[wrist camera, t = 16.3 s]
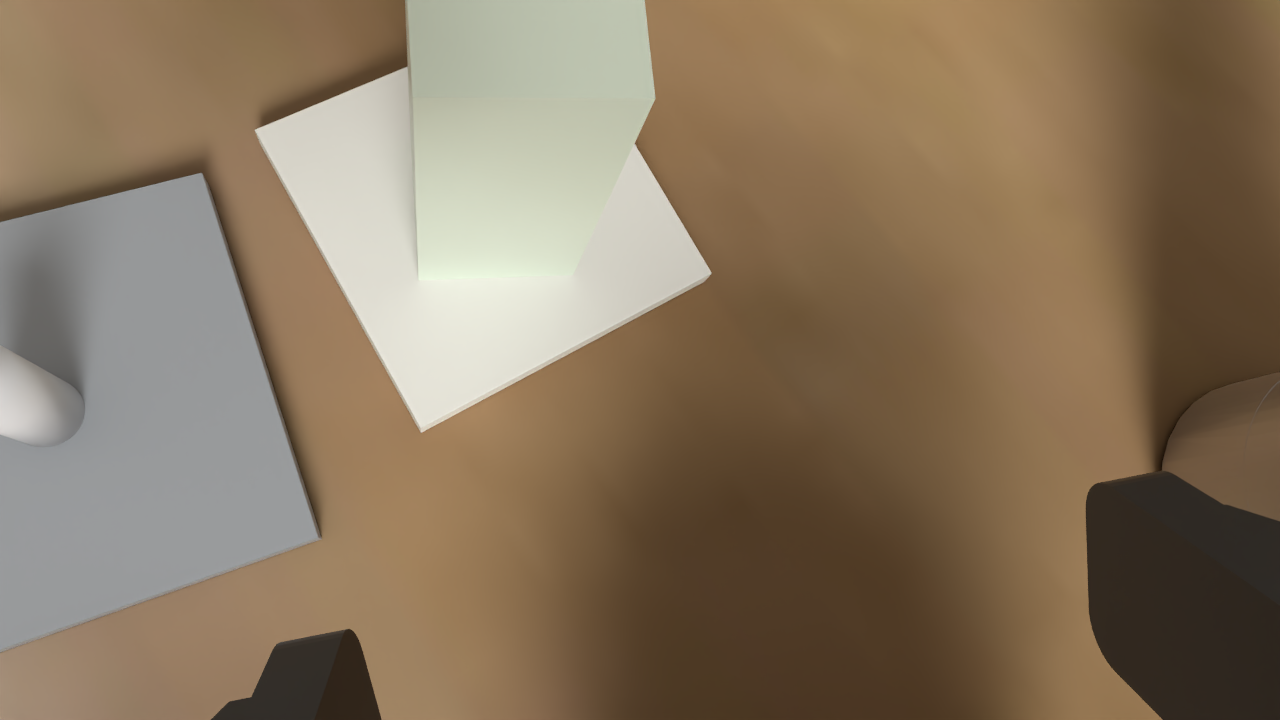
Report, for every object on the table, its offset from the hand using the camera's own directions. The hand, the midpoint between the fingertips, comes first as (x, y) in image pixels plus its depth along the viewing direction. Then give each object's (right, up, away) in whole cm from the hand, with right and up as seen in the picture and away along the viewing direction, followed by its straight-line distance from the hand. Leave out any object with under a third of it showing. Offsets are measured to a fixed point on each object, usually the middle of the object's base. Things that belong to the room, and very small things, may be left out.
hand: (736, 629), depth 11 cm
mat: (-6, +8, +23) cm, 25 cm away
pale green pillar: (-6, +8, +22) cm, 24 cm away
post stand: (-18, +1, +19) cm, 26 cm away
